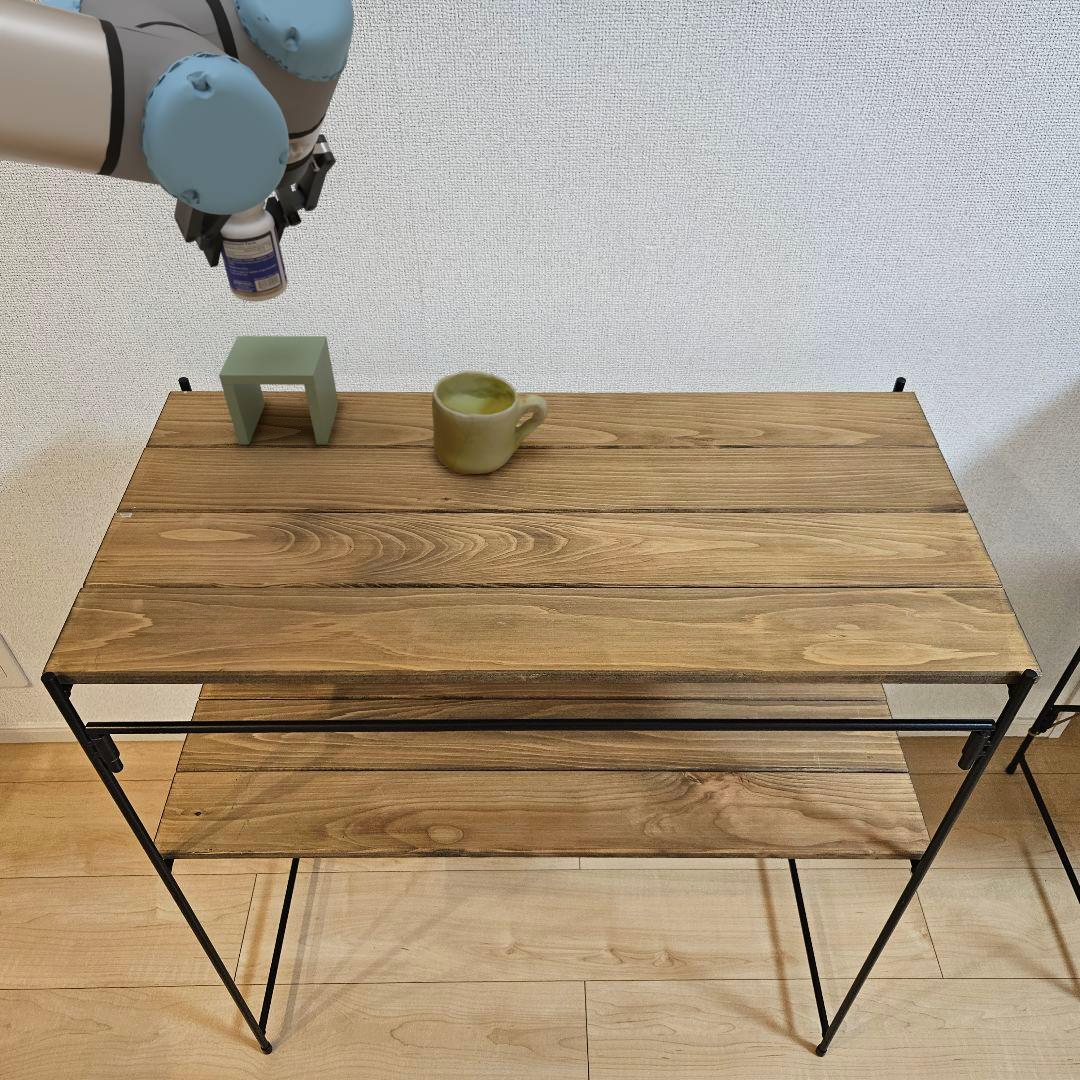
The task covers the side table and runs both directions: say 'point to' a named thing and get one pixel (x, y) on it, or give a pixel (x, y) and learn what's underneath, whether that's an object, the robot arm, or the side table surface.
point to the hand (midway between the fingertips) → (239, 245)
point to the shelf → (279, 379)
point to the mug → (480, 421)
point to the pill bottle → (253, 255)
